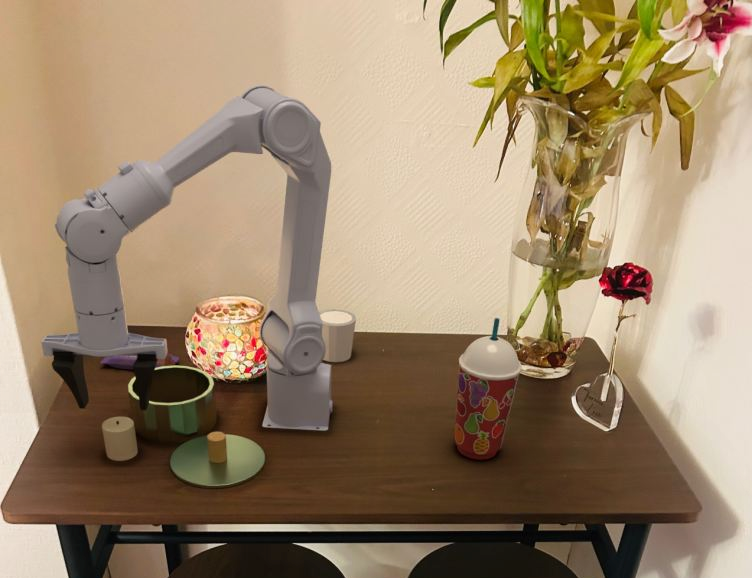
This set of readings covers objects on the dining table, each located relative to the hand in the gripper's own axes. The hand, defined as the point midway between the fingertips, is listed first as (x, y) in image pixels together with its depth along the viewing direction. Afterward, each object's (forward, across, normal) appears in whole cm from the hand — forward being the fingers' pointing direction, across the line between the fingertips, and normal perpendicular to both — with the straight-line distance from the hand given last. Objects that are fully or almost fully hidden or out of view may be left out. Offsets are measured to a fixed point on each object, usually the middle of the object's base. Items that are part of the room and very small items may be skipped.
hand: (114, 405), depth 100 cm
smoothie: (+8, -49, -3) cm, 50 cm away
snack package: (+8, +3, -26) cm, 28 cm away
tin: (+8, -6, -8) cm, 13 cm away
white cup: (+8, -29, -32) cm, 44 cm away
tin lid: (+7, -13, +2) cm, 15 cm away
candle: (+8, 0, 0) cm, 8 cm away
